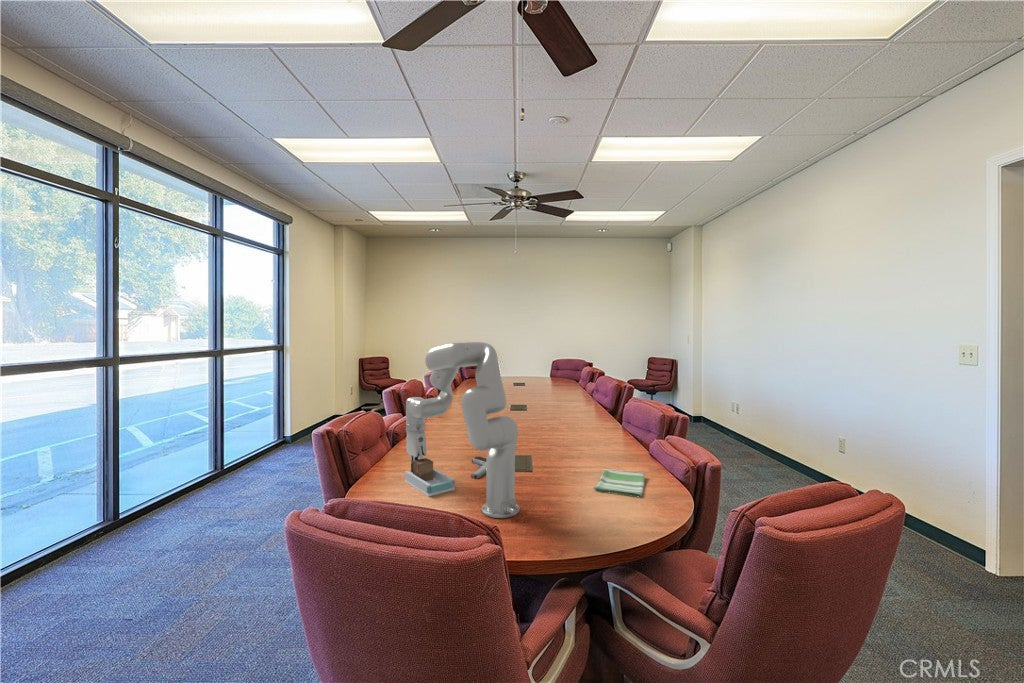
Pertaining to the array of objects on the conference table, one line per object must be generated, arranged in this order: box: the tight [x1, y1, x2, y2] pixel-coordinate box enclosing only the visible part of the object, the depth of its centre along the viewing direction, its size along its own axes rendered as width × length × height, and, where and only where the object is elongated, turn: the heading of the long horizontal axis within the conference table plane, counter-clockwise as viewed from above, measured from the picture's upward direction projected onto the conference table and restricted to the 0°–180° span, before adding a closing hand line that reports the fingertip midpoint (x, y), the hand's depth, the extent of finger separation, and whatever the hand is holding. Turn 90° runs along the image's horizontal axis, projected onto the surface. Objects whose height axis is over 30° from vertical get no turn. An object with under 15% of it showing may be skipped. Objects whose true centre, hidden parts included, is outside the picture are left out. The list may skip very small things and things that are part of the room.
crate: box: [411, 457, 434, 481], centre depth 175 cm, size 6×6×7 cm
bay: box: [404, 467, 456, 497], centre depth 170 cm, size 20×11×4 cm, turn 38°
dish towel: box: [593, 468, 646, 498], centre depth 173 cm, size 18×23×3 cm
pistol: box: [470, 455, 487, 480], centre depth 192 cm, size 23×3×14 cm
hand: (415, 471), depth 180 cm, fingers closed
